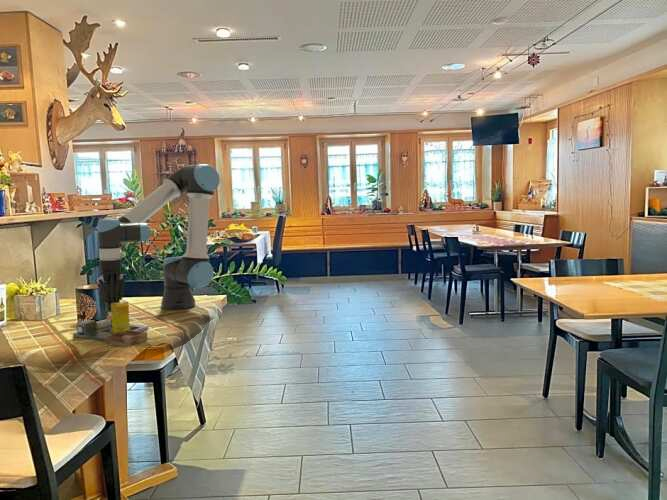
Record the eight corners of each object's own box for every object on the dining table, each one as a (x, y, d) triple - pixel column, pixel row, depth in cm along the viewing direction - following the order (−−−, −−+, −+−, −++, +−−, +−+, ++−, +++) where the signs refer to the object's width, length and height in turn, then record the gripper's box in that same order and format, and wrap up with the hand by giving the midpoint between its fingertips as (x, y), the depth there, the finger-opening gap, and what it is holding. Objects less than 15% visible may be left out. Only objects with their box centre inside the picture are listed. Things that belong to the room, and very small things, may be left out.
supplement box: (112, 331, 187) (110, 303, 186) (129, 329, 189) (128, 301, 188) (112, 335, 181) (110, 306, 180) (130, 333, 184) (128, 304, 183)
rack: (127, 336, 180) (126, 329, 179) (147, 339, 176) (147, 332, 175) (105, 343, 171) (104, 336, 171) (125, 347, 167) (125, 339, 167)
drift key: (109, 323, 193) (108, 315, 192) (114, 324, 191) (114, 316, 191) (77, 332, 180) (77, 324, 180) (83, 333, 179) (82, 325, 178)
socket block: (113, 324, 196) (112, 312, 196) (148, 329, 189) (147, 316, 188) (73, 336, 180) (72, 323, 180) (109, 342, 173) (108, 328, 172)
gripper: (116, 256, 198) (119, 314, 200) (88, 260, 186) (91, 322, 188) (130, 257, 194) (133, 316, 197) (103, 261, 183) (106, 324, 185)
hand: (113, 319), depth 193 cm, fingers closed
